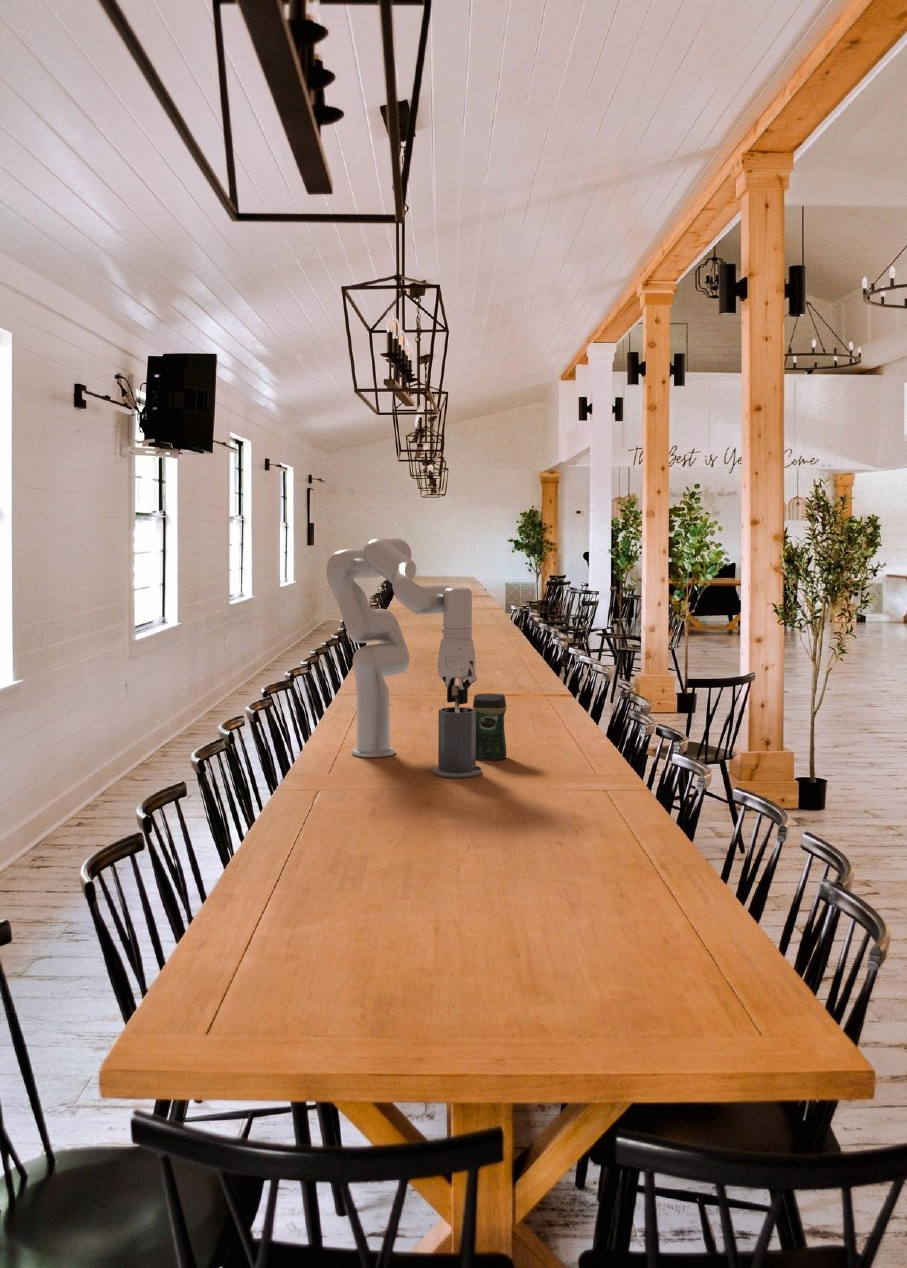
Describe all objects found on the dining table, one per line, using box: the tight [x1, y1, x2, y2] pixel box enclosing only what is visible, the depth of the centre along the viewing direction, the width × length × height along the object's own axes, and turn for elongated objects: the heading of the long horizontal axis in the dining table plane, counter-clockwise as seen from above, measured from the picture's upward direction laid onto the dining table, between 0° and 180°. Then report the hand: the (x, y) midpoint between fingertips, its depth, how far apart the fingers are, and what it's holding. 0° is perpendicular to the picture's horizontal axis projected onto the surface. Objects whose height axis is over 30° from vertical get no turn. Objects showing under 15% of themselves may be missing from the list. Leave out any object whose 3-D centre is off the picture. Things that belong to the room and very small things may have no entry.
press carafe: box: [432, 706, 482, 779], centre depth 278 cm, size 14×13×17 cm
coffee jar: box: [472, 692, 507, 761], centre depth 295 cm, size 10×8×19 cm
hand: (457, 702), depth 276 cm, fingers closed on plunger, 3 cm apart
